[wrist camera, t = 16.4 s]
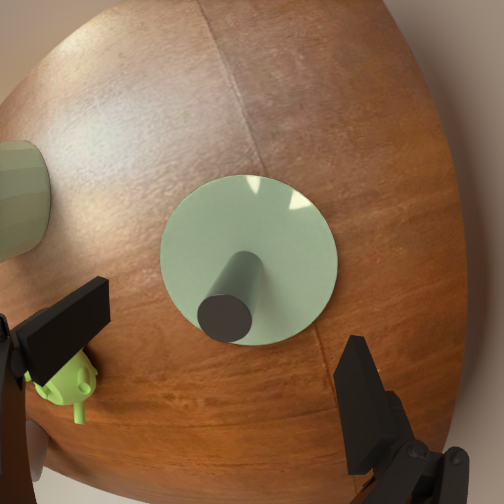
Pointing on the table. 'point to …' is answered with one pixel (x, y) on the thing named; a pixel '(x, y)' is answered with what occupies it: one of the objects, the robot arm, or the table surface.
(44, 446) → the vase
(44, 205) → the pot
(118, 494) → the table surface
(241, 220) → the lid
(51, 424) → the table surface
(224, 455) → the table surface
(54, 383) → the teapot
